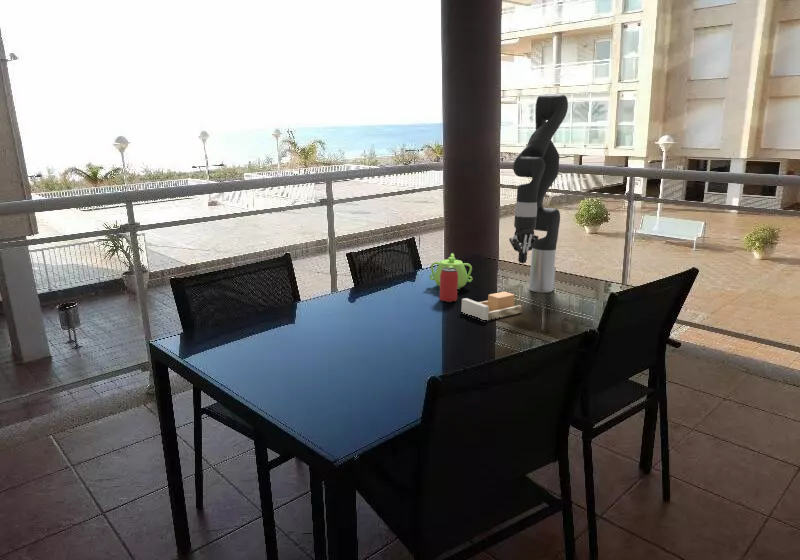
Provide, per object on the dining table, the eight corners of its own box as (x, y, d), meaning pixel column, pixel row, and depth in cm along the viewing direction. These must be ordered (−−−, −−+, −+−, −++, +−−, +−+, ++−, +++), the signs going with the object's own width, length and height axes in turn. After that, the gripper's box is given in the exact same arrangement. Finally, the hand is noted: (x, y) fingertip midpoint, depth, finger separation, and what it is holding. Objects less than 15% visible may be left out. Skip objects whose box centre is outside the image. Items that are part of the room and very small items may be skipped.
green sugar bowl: (423, 285, 239) (424, 255, 236) (451, 280, 246) (452, 251, 243) (446, 294, 226) (447, 263, 223) (475, 289, 233) (476, 259, 230)
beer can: (457, 298, 221) (458, 267, 218) (456, 303, 215) (458, 271, 212) (439, 297, 222) (440, 266, 219) (439, 302, 215) (440, 270, 212)
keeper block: (503, 307, 211) (504, 291, 210) (513, 310, 207) (514, 294, 206) (487, 310, 207) (488, 294, 205) (497, 314, 203) (498, 298, 201)
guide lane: (498, 304, 214) (498, 298, 213) (521, 312, 205) (521, 305, 204) (465, 311, 205) (465, 304, 204) (488, 320, 196) (488, 313, 195)
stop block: (465, 311, 205) (466, 298, 204) (488, 320, 196) (488, 306, 195) (461, 312, 204) (461, 298, 202) (483, 321, 195) (484, 307, 193)
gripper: (530, 212, 210) (527, 258, 215) (504, 214, 203) (501, 262, 207) (546, 214, 204) (542, 262, 209) (520, 217, 197) (517, 266, 201)
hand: (522, 262), depth 208 cm, fingers closed
